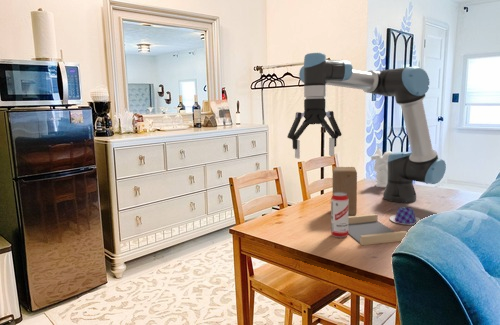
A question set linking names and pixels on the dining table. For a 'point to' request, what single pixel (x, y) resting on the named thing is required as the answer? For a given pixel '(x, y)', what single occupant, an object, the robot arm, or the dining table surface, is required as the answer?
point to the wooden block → (346, 185)
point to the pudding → (405, 216)
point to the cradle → (371, 230)
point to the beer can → (339, 214)
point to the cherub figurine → (381, 167)
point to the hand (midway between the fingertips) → (314, 156)
